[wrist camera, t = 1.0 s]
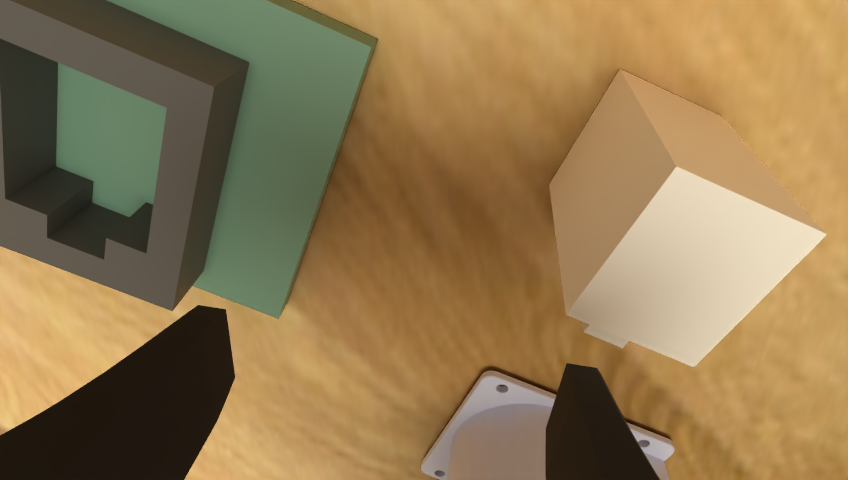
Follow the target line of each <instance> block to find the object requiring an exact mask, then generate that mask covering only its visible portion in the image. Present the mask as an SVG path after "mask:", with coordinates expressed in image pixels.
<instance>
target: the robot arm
mask: <svg viewBox="0 0 848 480" xmlns="http://www.w3.org/2000/svg"><path fill="white" fill-rule="evenodd" d="M234 379H235V373H234V366H233V358H232V351H231V344H230V336H229V329H228V322H227V314H226V309H219V308H213V307H207V306H200V305H198V306H196V307H195V308H194V309H192V310H191V311H189V312H188V313H187V314H185V315H184V316H182V317H181V318H180V319H178V320H177V321H175V322H174V323H173V324H171V325H170V326H169V327H167V328H166V329H164V330H163V331H162V332H160V333H159V334H158V335H156V336H155V337H154V338H152V339H151V340H149V341H148V342H147V343H145V344H144V345H143V346H141V347H140V348H138V349H137V350H136V351H134V352H133V353H131V354H130V355H128V356H127V357H126V358H124V359H123V360H121V361H120V362H119V363H117V364H116V365H114V366H113V367H111V368H110V369H109V370H107V371H106V372H104V373H103V374H101V375H100V376H98V377H97V378H95V379H93V380H92V381H90V382H89V383H87V384H86V385H84V386H83V387H81V388H80V389H78V390H77V391H75V392H73V393H72V394H70V395H69V396H67V397H66V398H64V399H63V400H61V401H60V402H58V403H56V404H55V405H53V406H51V407H50V408H48V409H46V410H45V411H43V412H41V413H40V414H38V415H36V416H34V417H33V418H31V419H29V420H27V421H26V422H24V423H22V424H20V425H18V426H17V427H15V428H13V429H11V430H9V431H8V432H6V433H4V434H2V435H0V480H184V479H185V477H186V475H187V474H188V472H189V470H190V468H191V467H192V465H193V463H194V461H195V460H196V458H197V456H198V454H199V452H200V451H201V449H202V447H203V445H204V444H205V442H206V440H207V438H208V436H209V435H210V433H211V431H212V429H213V427H214V426H215V424H216V422H217V420H218V418H219V415H220V413H221V411H222V408H223V406H224V404H225V401H226V399H227V396H228V394H229V391H230V389H231V386H232V384H233V381H234ZM501 384H502V385H506V386H499V385H501ZM674 451H675V448H674V445H673V442H672V441H671V440H670V439H668V438H665V437H663V436H660V435H658V434H655V433H653V432H650V431H647V430H645V429H642V428H640V427H637V426H635V425H632V424H630V423H627V422H626V421H625V419H624V417H623V415H622V413H621V412H620V410H619V408H618V406H617V404H616V402H615V400H614V398H613V397H612V395H611V393H610V391H609V389H608V387H607V385H606V383H605V381H604V379H603V377H602V375H601V373H600V372H599V370H598V369H597V368H593V367H587V366H580V365H574V364H568V363H567V364H566V367H565V370H564V373H563V377H562V380H561V383H560V386H559V389H558V392H557V395H555V394H553V393H550V392H548V391H545V390H543V389H540V388H538V387H535V386H532V385H530V384H527V383H525V382H522V381H520V380H517V379H515V378H512V377H509V376H507V375H504V374H502V373H499V372H497V371H486V372H484V373H483V374H482V375H481V376H480V378H479V379H478V381H477V382H476V384H475V385H474V386H473V388H472V389H471V391H470V392H469V394H468V395H467V397H466V398H465V400H464V401H463V402H462V404H461V405H460V407H459V408H458V410H457V411H456V413H455V414H454V416H453V417H452V419H451V420H450V421H449V423H448V424H447V426H446V427H445V429H444V430H443V432H442V433H441V435H440V436H439V437H438V439H437V440H436V442H435V443H434V445H433V446H432V448H431V449H430V451H429V452H428V453H427V455H426V456H425V458H424V459H423V461H422V465H421V470H422V472H423V473H424V474H426V475H429V476H431V477H434V478H437V479H440V480H669V477H668V473H667V470H666V466H665V462H664V461H665V460H667V459H668V458H669V457H670V456H671V455H672V454H673V453H674Z"/></svg>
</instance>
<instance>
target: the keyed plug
mask: <svg viewBox="0 0 848 480" xmlns="http://www.w3.org/2000/svg"><path fill="white" fill-rule="evenodd" d="M549 189H550V196H551V204H552V212H553V220H554V227H555V235H556V243H557V251H558V258H559V266H560V274H561V282H562V289H563V297H564V305H565V313H566V315H567V316H570V317H572V318H575V319H577V320H580V321H582V326H583V332H584V333H586V334H589V335H591V336H594V337H596V338H599V339H601V340H604V341H606V342H609V343H611V344H613V345H616V346H618V347H621V348H623V347H624V346H625V345H626V344H627V342H628V341H631V342H633V343H636V344H638V345H641V346H643V347H646V348H648V349H650V350H653V351H655V352H658V353H660V354H663V355H665V356H668V357H670V358H672V359H675V360H677V361H680V362H682V363H685V364H687V365H690V366H692V367H695V366H696V365H697V364H698V363H699V362H700V361H701V360H702V359H703V358H704V357H705V356H706V355H707V354H708V353H709V352H710V351H711V350H712V349H713V348H714V347H715V346H716V345H717V344H718V343H719V342H720V341H721V340H722V339H723V338H724V337H725V336H726V335H727V334H728V333H729V332H730V331H731V330H732V329H733V328H734V327H735V326H736V325H737V324H738V323H739V322H740V321H741V320H742V319H743V318H744V317H745V316H746V315H747V314H748V313H749V312H750V311H751V310H752V309H753V308H754V307H755V306H756V305H757V304H758V303H759V302H760V301H761V300H762V299H763V298H764V297H765V296H766V295H767V294H768V293H769V292H770V291H771V290H772V289H773V288H774V287H775V286H776V285H777V284H778V283H779V282H780V281H781V280H782V279H783V278H784V277H785V276H786V275H787V274H788V273H789V272H790V271H791V270H792V269H793V268H794V267H795V266H796V265H797V264H798V263H799V262H800V261H801V260H802V259H803V258H804V257H805V256H806V255H807V254H808V253H809V252H810V251H811V250H812V249H813V248H814V247H815V246H816V245H817V244H818V243H819V242H820V241H821V240H822V239H823V238H824V237H825V236H826V235H827V233H826V232H825V231H824V230H823V229H822V228H821V227H820V226H819V225H818V223H817V222H816V221H815V220H814V219H813V218H812V217H811V216H810V214H809V213H808V212H807V211H806V210H805V209H804V208H803V207H802V206H801V204H800V203H799V202H798V201H797V200H796V199H795V198H794V197H793V195H792V194H791V193H790V192H789V191H788V190H787V189H786V188H785V187H784V185H783V184H782V183H781V182H780V181H779V180H778V179H777V178H776V176H775V175H774V174H773V173H772V172H771V171H770V170H769V169H768V168H767V166H766V165H765V164H764V163H763V162H762V161H761V160H760V159H759V157H758V156H757V155H756V154H755V153H754V152H753V151H752V150H751V149H750V147H749V146H748V145H747V144H746V143H745V142H744V141H743V140H742V139H741V137H740V136H739V135H738V134H737V133H736V132H735V131H734V130H733V128H732V127H731V126H730V125H729V124H728V123H727V122H726V121H725V120H724V118H723V117H722V116H720V115H718V114H716V113H714V112H712V111H709V110H707V109H705V108H703V107H701V106H699V105H697V104H694V103H692V102H690V101H688V100H686V99H684V98H681V97H679V96H677V95H675V94H673V93H671V92H669V91H666V90H664V89H662V88H660V87H658V86H656V85H654V84H651V83H649V82H647V81H645V80H643V79H641V78H638V77H636V76H634V75H632V74H630V73H628V72H626V71H623V70H621V69H619V71H618V73H617V74H616V76H615V78H614V79H613V81H612V82H611V84H610V86H609V87H608V89H607V91H606V92H605V94H604V96H603V97H602V99H601V100H600V102H599V104H598V105H597V107H596V109H595V110H594V112H593V114H592V115H591V117H590V118H589V120H588V122H587V123H586V125H585V127H584V128H583V130H582V132H581V133H580V135H579V136H578V138H577V140H576V141H575V143H574V145H573V146H572V148H571V150H570V151H569V153H568V155H567V156H566V158H565V159H564V161H563V163H562V164H561V166H560V168H559V169H558V171H557V173H556V174H555V176H554V177H553V179H552V181H551V182H550V184H549Z"/></svg>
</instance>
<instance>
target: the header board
mask: <svg viewBox="0 0 848 480" xmlns="http://www.w3.org/2000/svg"><path fill="white" fill-rule="evenodd" d="M377 40H378V39H376V38H374V37H372V36H370V35H368V34H365V33H363V32H361V31H359V30H356V29H354V28H352V27H350V26H347V25H345V24H343V23H341V22H339V21H336V20H334V19H332V18H330V17H327V16H325V15H323V14H321V13H318V12H316V11H314V10H312V9H310V8H307V7H305V6H303V5H301V4H298V3H296V2H294V1H292V0H0V246H2V247H4V248H7V249H10V250H12V251H15V252H18V253H20V254H23V255H26V256H28V257H31V258H33V259H36V260H39V261H41V262H44V263H47V264H49V265H52V266H55V267H57V268H60V269H63V270H65V271H68V272H70V273H73V274H76V275H78V276H81V277H84V278H86V279H89V280H92V281H94V282H97V283H99V284H102V285H105V286H107V287H110V288H113V289H115V290H118V291H121V292H123V293H126V294H129V295H131V296H134V297H136V298H139V299H142V300H144V301H147V302H150V303H152V304H155V305H158V306H160V307H163V308H166V309H168V310H171V311H173V310H174V308H175V307H176V306H177V305H178V303H179V302H180V301H181V299H182V298H183V297H184V296H185V294H186V293H187V292H188V290H189V289H190V288H191V287H192V286H195V287H197V288H200V289H203V290H205V291H208V292H210V293H213V294H216V295H218V296H221V297H223V298H226V299H229V300H231V301H234V302H236V303H239V304H242V305H244V306H247V307H249V308H252V309H255V310H257V311H260V312H262V313H265V314H267V315H270V316H273V317H275V318H278V319H279V317H280V315H281V313H282V311H283V310H284V308H285V306H286V304H287V301H288V298H289V295H290V292H291V289H292V287H293V284H294V281H295V278H296V275H297V272H298V269H299V266H300V263H301V260H302V258H303V255H304V252H305V249H306V246H307V243H308V240H309V237H310V234H311V232H312V229H313V226H314V223H315V220H316V217H317V214H318V211H319V208H320V205H321V203H322V200H323V197H324V194H325V191H326V188H327V185H328V182H329V179H330V176H331V174H332V171H333V168H334V165H335V162H336V159H337V156H338V153H339V150H340V148H341V145H342V142H343V139H344V136H345V133H346V130H347V127H348V124H349V121H350V119H351V116H352V113H353V110H354V107H355V104H356V101H357V98H358V95H359V93H360V90H361V87H362V84H363V81H364V78H365V75H366V72H367V69H368V66H369V64H370V61H371V58H372V55H373V52H374V49H375V46H376V43H377Z"/></svg>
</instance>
